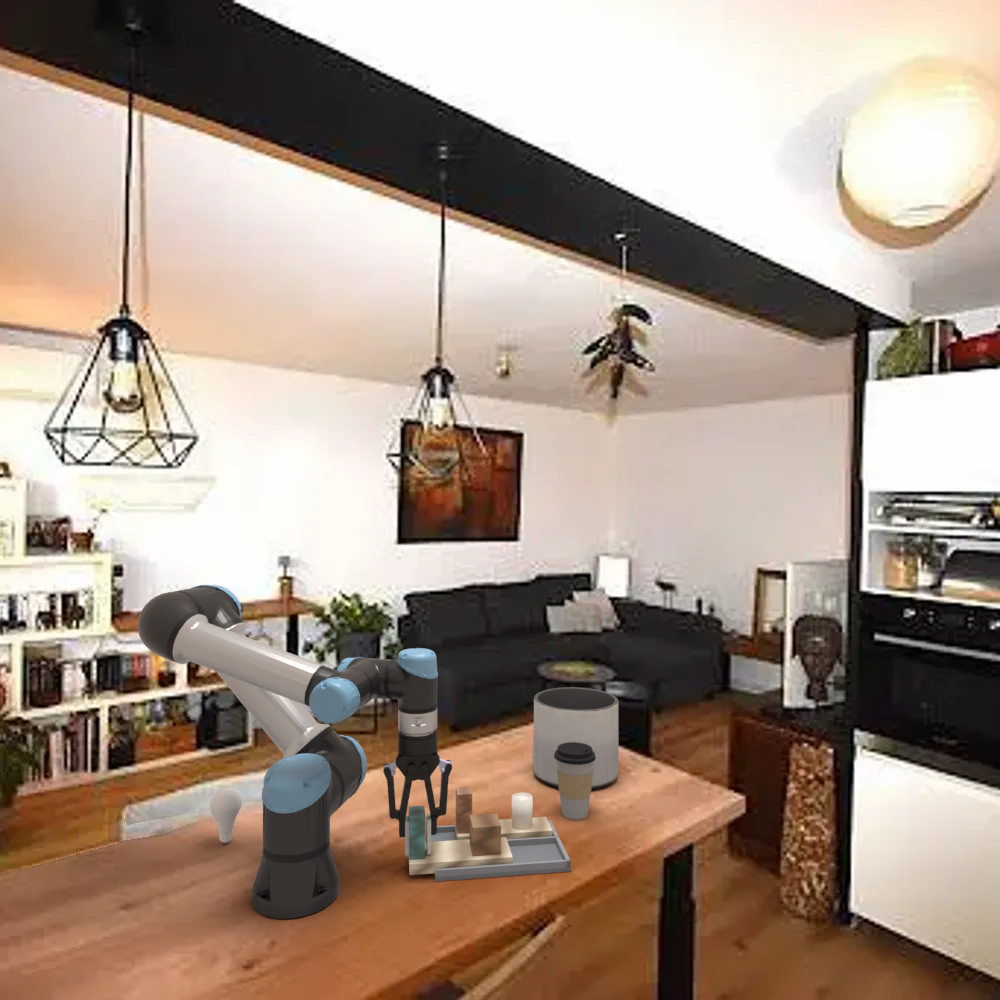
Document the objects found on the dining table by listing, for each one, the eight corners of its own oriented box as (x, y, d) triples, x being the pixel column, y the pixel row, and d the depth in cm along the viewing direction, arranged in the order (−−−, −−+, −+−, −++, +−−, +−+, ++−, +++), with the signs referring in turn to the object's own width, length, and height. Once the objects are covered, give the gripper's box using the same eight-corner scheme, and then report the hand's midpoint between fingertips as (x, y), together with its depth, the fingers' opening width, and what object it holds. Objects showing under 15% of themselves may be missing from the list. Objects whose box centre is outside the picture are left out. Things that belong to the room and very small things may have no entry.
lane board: (435, 881, 133) (435, 870, 133) (430, 835, 151) (430, 826, 151) (570, 871, 137) (570, 860, 137) (550, 828, 155) (550, 818, 154)
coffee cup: (593, 825, 156) (594, 757, 156) (551, 821, 158) (551, 753, 158) (596, 807, 165) (597, 742, 165) (556, 803, 167) (556, 739, 167)
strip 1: (409, 875, 133) (409, 821, 133) (408, 853, 141) (408, 803, 141) (512, 867, 136) (512, 815, 136) (505, 846, 144) (506, 797, 144)
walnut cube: (472, 856, 136) (472, 827, 136) (469, 842, 142) (469, 815, 142) (500, 854, 137) (501, 825, 137) (496, 840, 142) (497, 813, 142)
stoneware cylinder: (513, 830, 147) (513, 801, 147) (509, 821, 151) (510, 792, 151) (534, 829, 147) (534, 800, 147) (530, 819, 152) (530, 791, 152)
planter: (536, 757, 197) (537, 685, 197) (617, 762, 194) (618, 688, 193) (528, 790, 175) (529, 708, 175) (619, 795, 172) (620, 712, 172)
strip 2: (457, 846, 144) (458, 797, 144) (455, 831, 150) (455, 784, 150) (552, 840, 147) (552, 791, 147) (545, 826, 153) (546, 779, 153)
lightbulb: (204, 842, 147) (204, 789, 147) (232, 832, 152) (233, 781, 152) (218, 852, 143) (218, 798, 143) (246, 842, 147) (247, 789, 147)
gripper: (373, 739, 132) (374, 865, 132) (462, 734, 135) (462, 858, 135) (374, 726, 140) (374, 845, 140) (458, 722, 142) (458, 839, 142)
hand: (417, 851), depth 137 cm, fingers open, 3 cm apart
